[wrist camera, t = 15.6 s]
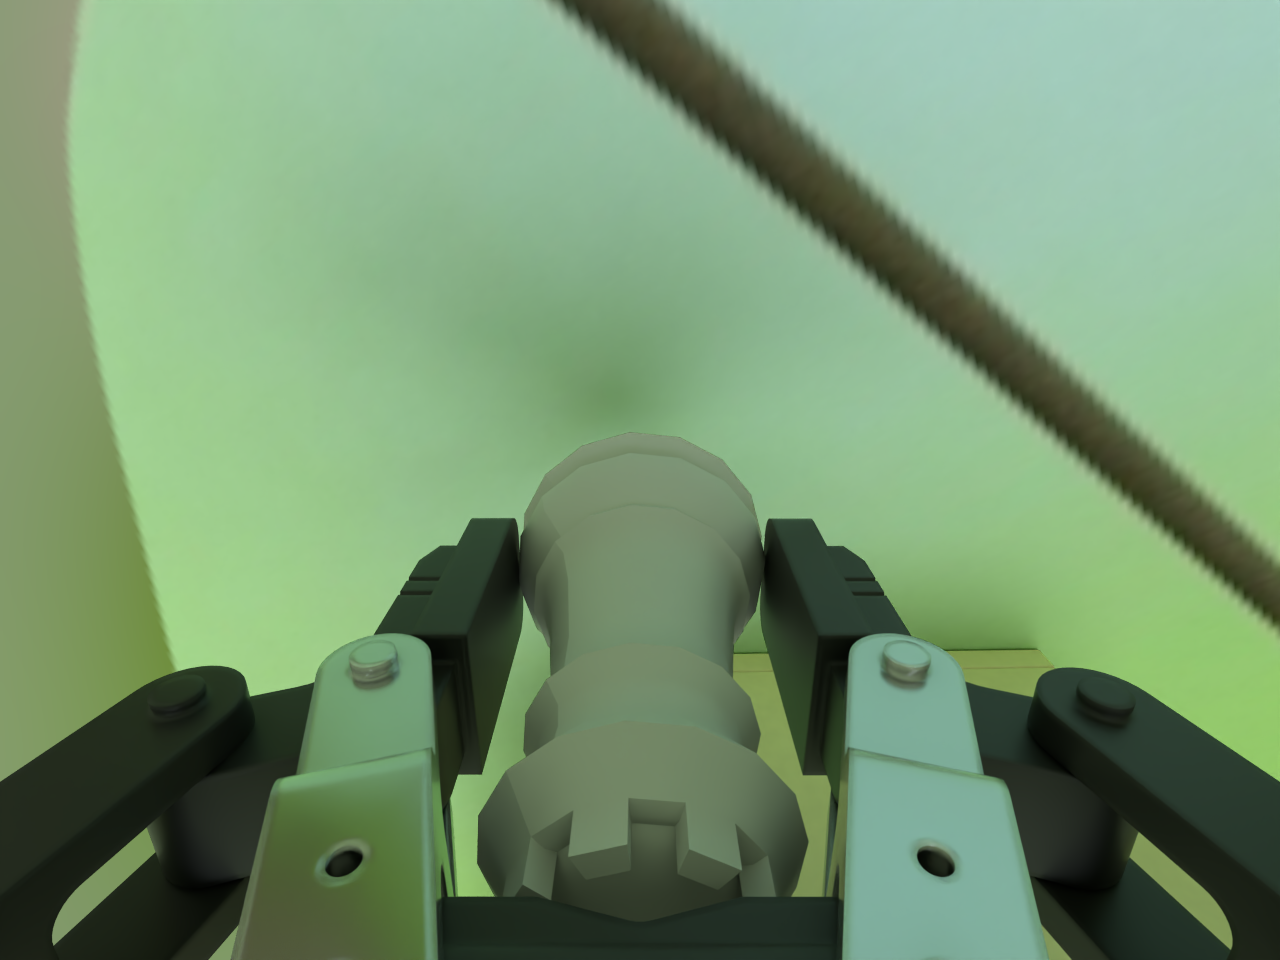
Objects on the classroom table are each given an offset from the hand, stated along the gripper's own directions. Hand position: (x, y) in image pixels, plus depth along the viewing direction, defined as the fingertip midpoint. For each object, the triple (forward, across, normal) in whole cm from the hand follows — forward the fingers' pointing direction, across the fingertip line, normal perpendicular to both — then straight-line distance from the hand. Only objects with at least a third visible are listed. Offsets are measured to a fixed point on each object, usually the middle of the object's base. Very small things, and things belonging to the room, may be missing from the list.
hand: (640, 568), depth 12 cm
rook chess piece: (+1, 0, 0) cm, 1 cm away
